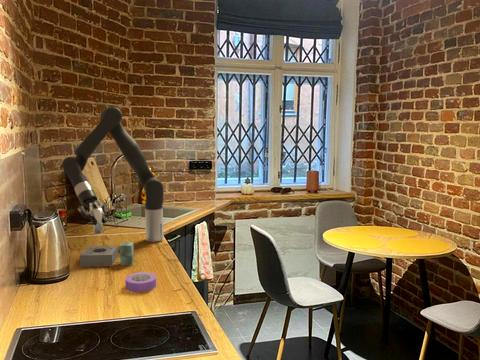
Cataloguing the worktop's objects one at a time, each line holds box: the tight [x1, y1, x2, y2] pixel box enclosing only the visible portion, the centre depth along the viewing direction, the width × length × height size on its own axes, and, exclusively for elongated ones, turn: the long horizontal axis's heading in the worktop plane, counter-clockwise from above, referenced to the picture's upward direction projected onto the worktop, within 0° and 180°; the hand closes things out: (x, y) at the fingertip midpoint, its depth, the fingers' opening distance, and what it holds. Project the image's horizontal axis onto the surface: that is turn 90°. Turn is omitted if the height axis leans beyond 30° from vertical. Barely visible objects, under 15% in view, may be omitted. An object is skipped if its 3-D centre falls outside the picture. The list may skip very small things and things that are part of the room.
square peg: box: [119, 241, 135, 266], centre depth 196 cm, size 5×5×9 cm
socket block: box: [79, 245, 119, 267], centre depth 199 cm, size 14×14×5 cm
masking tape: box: [124, 271, 157, 293], centre depth 170 cm, size 12×12×4 cm
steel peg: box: [92, 207, 104, 235], centre depth 197 cm, size 4×4×11 cm
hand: (100, 223), depth 196 cm, fingers closed on steel peg, 4 cm apart
